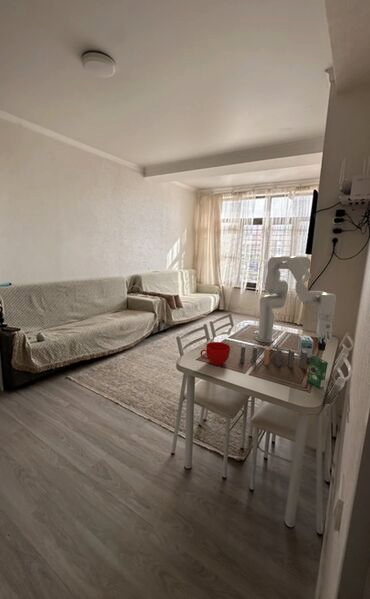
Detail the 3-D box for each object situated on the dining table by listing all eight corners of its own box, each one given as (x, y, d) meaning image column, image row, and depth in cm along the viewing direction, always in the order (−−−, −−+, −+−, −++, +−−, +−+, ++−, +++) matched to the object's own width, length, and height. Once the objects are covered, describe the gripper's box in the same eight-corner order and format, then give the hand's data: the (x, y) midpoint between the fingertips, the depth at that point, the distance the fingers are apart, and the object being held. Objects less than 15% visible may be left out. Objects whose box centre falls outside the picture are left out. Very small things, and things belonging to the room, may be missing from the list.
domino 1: (240, 362, 157) (241, 346, 156) (240, 358, 162) (241, 343, 161) (244, 362, 157) (245, 347, 155) (243, 359, 162) (245, 344, 160)
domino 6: (301, 368, 153) (303, 352, 151) (299, 364, 158) (301, 349, 156) (305, 368, 152) (307, 353, 151) (303, 365, 157) (305, 349, 155)
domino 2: (252, 363, 156) (253, 348, 155) (251, 359, 161) (253, 344, 160) (256, 363, 156) (257, 348, 154) (255, 360, 161) (256, 345, 159)
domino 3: (264, 364, 156) (266, 349, 154) (263, 361, 160) (264, 346, 159) (268, 365, 155) (269, 349, 153) (266, 361, 160) (268, 346, 158)
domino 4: (276, 365, 155) (278, 350, 153) (275, 362, 159) (276, 347, 158) (280, 366, 154) (282, 350, 153) (278, 362, 159) (280, 347, 157)
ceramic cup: (194, 361, 156) (195, 343, 154) (221, 357, 163) (222, 340, 161) (205, 370, 145) (206, 352, 143) (233, 366, 151) (234, 349, 149)
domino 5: (288, 367, 154) (290, 351, 152) (287, 363, 158) (289, 348, 157) (292, 367, 153) (294, 352, 152) (290, 363, 158) (292, 348, 156)
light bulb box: (311, 358, 168) (314, 341, 165) (299, 357, 169) (302, 339, 167) (307, 351, 178) (310, 335, 176) (296, 350, 179) (298, 334, 177)
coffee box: (324, 387, 132) (328, 361, 130) (320, 388, 131) (323, 362, 129) (311, 380, 140) (314, 355, 137) (306, 380, 139) (310, 355, 136)
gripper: (338, 320, 140) (333, 355, 143) (328, 314, 155) (324, 346, 158) (322, 319, 141) (318, 354, 144) (313, 313, 156) (310, 344, 159)
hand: (321, 349), depth 151 cm, fingers closed
